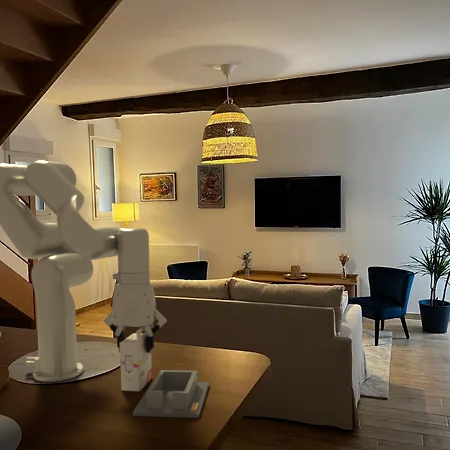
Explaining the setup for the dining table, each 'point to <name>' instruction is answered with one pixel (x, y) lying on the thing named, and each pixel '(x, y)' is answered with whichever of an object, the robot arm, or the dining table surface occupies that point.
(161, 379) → the grey box holder
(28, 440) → the dining table surface
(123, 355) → the ink cartridge box
